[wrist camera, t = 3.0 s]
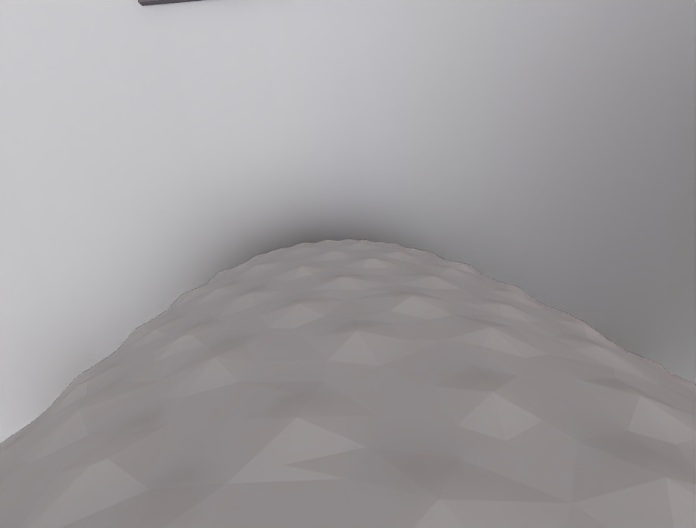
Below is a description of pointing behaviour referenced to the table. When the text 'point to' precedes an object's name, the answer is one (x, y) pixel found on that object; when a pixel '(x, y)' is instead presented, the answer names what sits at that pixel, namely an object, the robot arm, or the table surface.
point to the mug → (359, 410)
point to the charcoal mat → (161, 1)
